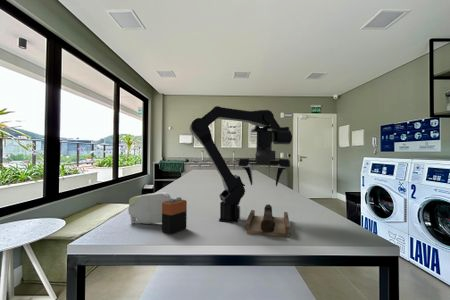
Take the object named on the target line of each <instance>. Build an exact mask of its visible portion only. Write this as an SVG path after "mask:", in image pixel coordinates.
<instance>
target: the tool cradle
mask: <svg viewBox="0 0 450 300" xmlns="http://www.w3.org/2000/svg"><path fill="white" fill-rule="evenodd" d="M255 212H256V211H255V210H254V209H251V210H250V212H249V214H248V216H247V218H246V221H245V223H244V231H246V234H248V235H259V236H269V237H283V238H289V235H290V234H291V225H290V224H291V223H290V220H289V213H288V211H283V216H273V217H274V220H273V221H274V222H275V227H274V231H273V232H270V233H265V232H263V231H262V230H261V222H262V220H263V216H264V215H256V213H255Z"/></svg>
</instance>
